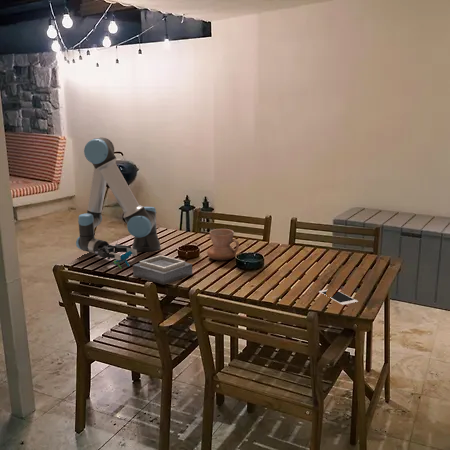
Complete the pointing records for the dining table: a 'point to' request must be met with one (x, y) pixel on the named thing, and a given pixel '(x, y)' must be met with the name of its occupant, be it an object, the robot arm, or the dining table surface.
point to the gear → (123, 259)
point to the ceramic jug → (222, 244)
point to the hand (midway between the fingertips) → (128, 254)
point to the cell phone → (340, 298)
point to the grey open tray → (162, 269)
